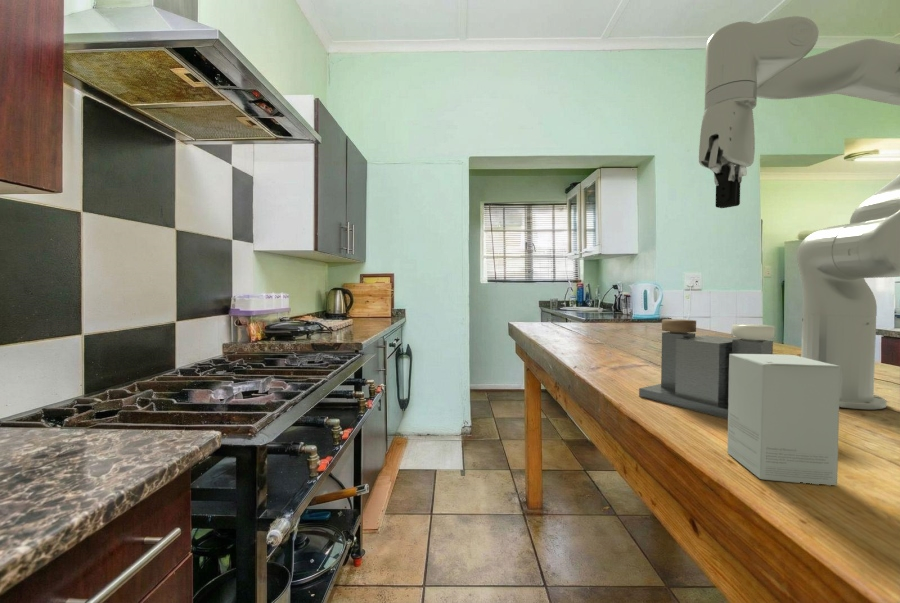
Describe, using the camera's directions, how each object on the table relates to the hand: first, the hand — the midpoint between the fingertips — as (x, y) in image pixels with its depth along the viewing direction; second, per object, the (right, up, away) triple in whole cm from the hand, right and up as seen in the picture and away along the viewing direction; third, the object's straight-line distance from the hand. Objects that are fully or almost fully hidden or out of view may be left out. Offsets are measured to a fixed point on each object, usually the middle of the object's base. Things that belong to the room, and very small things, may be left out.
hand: (727, 206), depth 70 cm
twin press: (-3, -35, -1) cm, 35 cm away
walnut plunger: (-6, -33, +4) cm, 33 cm away
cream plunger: (0, -33, -6) cm, 33 cm away
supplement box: (-12, -36, -25) cm, 46 cm away
